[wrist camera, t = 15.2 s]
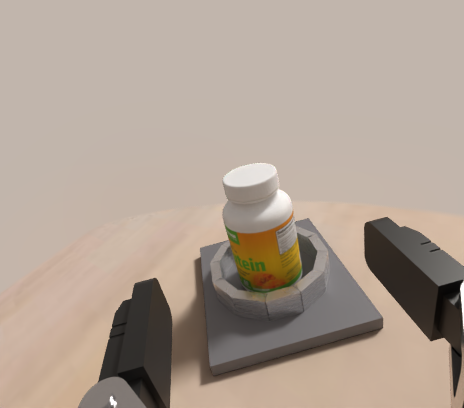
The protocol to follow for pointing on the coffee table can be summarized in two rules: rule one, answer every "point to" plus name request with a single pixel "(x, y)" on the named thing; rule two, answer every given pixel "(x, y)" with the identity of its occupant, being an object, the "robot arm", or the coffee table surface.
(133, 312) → the robot arm
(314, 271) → the stone collar
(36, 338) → the coffee table surface
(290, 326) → the base plate
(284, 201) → the supplement bottle
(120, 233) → the coffee table surface
